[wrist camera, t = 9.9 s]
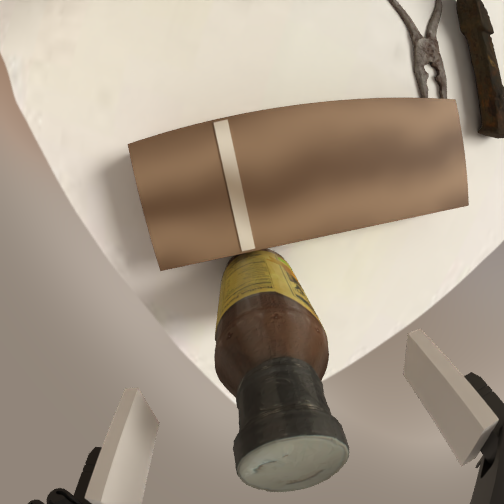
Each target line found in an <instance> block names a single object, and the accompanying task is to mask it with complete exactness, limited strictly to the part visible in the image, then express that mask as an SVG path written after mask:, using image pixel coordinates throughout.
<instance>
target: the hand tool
mask: <svg viewBox="0 0 504 504" xmlns="http://www.w3.org/2000/svg"><path fill="white" fill-rule="evenodd" d="M457 14H458V18H459V22H460V29H461V32H462V33H463V34H464V35H465V36H466V38H467V40H468V44H469V48H470V54H471V59H472V64H473V67H474V71H475V76H476V83H477V90H478V97H479V103H480V112H481V118H482V127H481V128H480V129H479V130H478V133H480V134H483V135H486V136H490V137H494V138H504V87H503V85H502V81H501V77H500V72H499V68H498V64H497V59H496V55H495V51H494V48H493V43H492V38H491V37H490V35H491V34H493V33H494V31H493V27H492V25H491V22H490V18H489V16H488V12H487V10H486V9H485V7H484V4H483V3H482V1H481V0H457Z"/></svg>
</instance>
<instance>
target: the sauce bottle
mask: <svg viewBox="0 0 504 504" xmlns="http://www.w3.org/2000/svg"><path fill="white" fill-rule="evenodd" d="M215 341H216V348H215V369H216V373H217V375H218V378H219V380H220V381H221V382H222V383H223V385H224V386H225V387H226V388H227V389H228V390H229V392H230V393H232V394H233V395H234V396H235V397H236V402H237V408H238V409H239V428H240V429H239V433H238V434H237V436H236V438H235V440H234V447H233V451H234V456H235V463H236V471H237V475H238V476H239V477H240V479H241V480H242V481H243V482H244V483H245V484H246V485H249V486H251V487H253V488H256V489H262V490H266V491H270V492H286V491H294V490H300V489H305V488H308V487H311V486H314V485H317V484H319V483H321V482H323V481H325V480H327V479H329V478H330V477H331V476H333V475H334V474H335V473H337V472H338V471H339V470H340V469H341V468H342V467H343V465H344V464H345V463H346V462H347V459H348V457H349V446H348V443H347V440H346V437H345V434H344V431H343V428H342V426H341V424H340V423H339V422H338V420H337V419H336V418H335V417H333V416H332V415H331V412H330V409H329V407H328V405H327V402H326V399H325V397H324V393H323V392H324V391H323V384H322V382H321V380H322V378H323V376H324V374H325V371H326V368H327V364H328V359H329V353H328V352H329V351H328V341H327V336H326V333H325V330H324V328H323V326H322V324H321V322H320V320H319V318H318V316H317V315H316V313H315V311H314V309H313V307H312V306H311V304H310V302H309V300H308V298H307V296H306V295H305V293H304V290H303V289H302V287H301V285H300V284H299V282H298V280H297V278H296V276H295V275H294V273H293V271H292V269H291V267H290V266H289V264H288V263H287V262H286V261H285V260H284V258H283V257H282V256H281V255H279V254H277V253H276V252H274V251H272V250H269V249H261V250H257V251H252V252H247V253H243V254H238V255H235V256H234V257H232V258H231V259H230V260H229V262H228V264H227V267H226V269H225V272H224V274H223V277H222V282H221V289H220V297H219V306H218V314H217V323H216V331H215Z"/></svg>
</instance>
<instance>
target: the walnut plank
mask: <svg viewBox="0 0 504 504" xmlns="http://www.w3.org/2000/svg"><path fill="white" fill-rule="evenodd" d="M128 148H129V153H130V158H131V162H132V167H133V171H134V175H135V180H136V184H137V188H138V192H139V196H140V200H141V204H142V208H143V212H144V216H145V219H146V223H147V227H148V230H149V234H150V237H151V241H152V244H153V248H154V251H155V255H156V258H157V261H158V264H159V268H160V271H163V270H168V269H172V268H177V267H182V266H186V265H191V264H196V263H200V262H205V261H210V260H214V259H219V258H224V257H228V256H233V255H238V254H243V253H247V252H252V251H257V250H261V249H266V248H271V247H275V246H280V245H285V244H290V243H294V242H299V241H304V240H308V239H313V238H318V237H322V236H327V235H332V234H337V233H341V232H346V231H351V230H355V229H360V228H365V227H370V226H374V225H379V224H384V223H388V222H393V221H398V220H402V219H407V218H412V217H417V216H421V215H426V214H431V213H435V212H440V211H445V210H450V209H454V208H459V207H464V206H468V205H469V203H468V184H467V171H466V161H465V153H464V145H463V138H462V131H461V125H460V120H459V114H458V109H457V104H456V100H454V99H437V98H370V99H352V100H338V101H327V102H317V103H309V104H300V105H293V106H286V107H279V108H273V109H266V110H261V111H255V112H250V113H244V114H239V115H234V116H229V117H225V118H220V119H216V120H211V121H207V122H203V123H199V124H195V125H191V126H187V127H183V128H180V129H176V130H172V131H169V132H165V133H162V134H158V135H155V136H152V137H149V138H145V139H142V140H139V141H136V142H133V143H130V144H128Z"/></svg>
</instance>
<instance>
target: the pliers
mask: <svg viewBox="0 0 504 504" xmlns="http://www.w3.org/2000/svg"><path fill="white" fill-rule="evenodd" d="M389 1H390V3H391V4H392V5H393V7H394V8H395V9H396V11H397V12H398V13H399V15H400V16H401V18H402V19H403V21H404V22H405V24H406V26H407V28H408V30H409V33H410V36H411V39H412V42H413V46H414V73H415V76H416V79H417V82H418V85H419V89H420V92H421V95H422V98H428V87H427V79H428V73H427V72H426V71H425V69H424V65H426V64H429V63H430V64H431V66H432V67H434V68H435V69H436V71H437V76H436V77H435V80H436V82H437V83H438V85H439V88H440V90H439V94H440V97H441V99H447V82H446V75H445V70H444V66H443V61H442V58H441V55H440V53H439V45H438V41H437V39H436V32H437V27H438V23H439V19H440V16H441V11H442V2H441V0H436V6H435V10H434V13H433V15H432V17H431V19H430V22H429V24H428V28H427V34H426V38H424V37H423V36H422V35H421V34H420V32H419V31H418V29H417V27H416V26H415V24H414V23H413V21H412V19H411V18H410V17H409V15H408V14H407V13H406V11H405V10H404V9H403V8H402V7H401V5H400V4H399V3H398V2H397V1H396V0H389Z"/></svg>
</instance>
